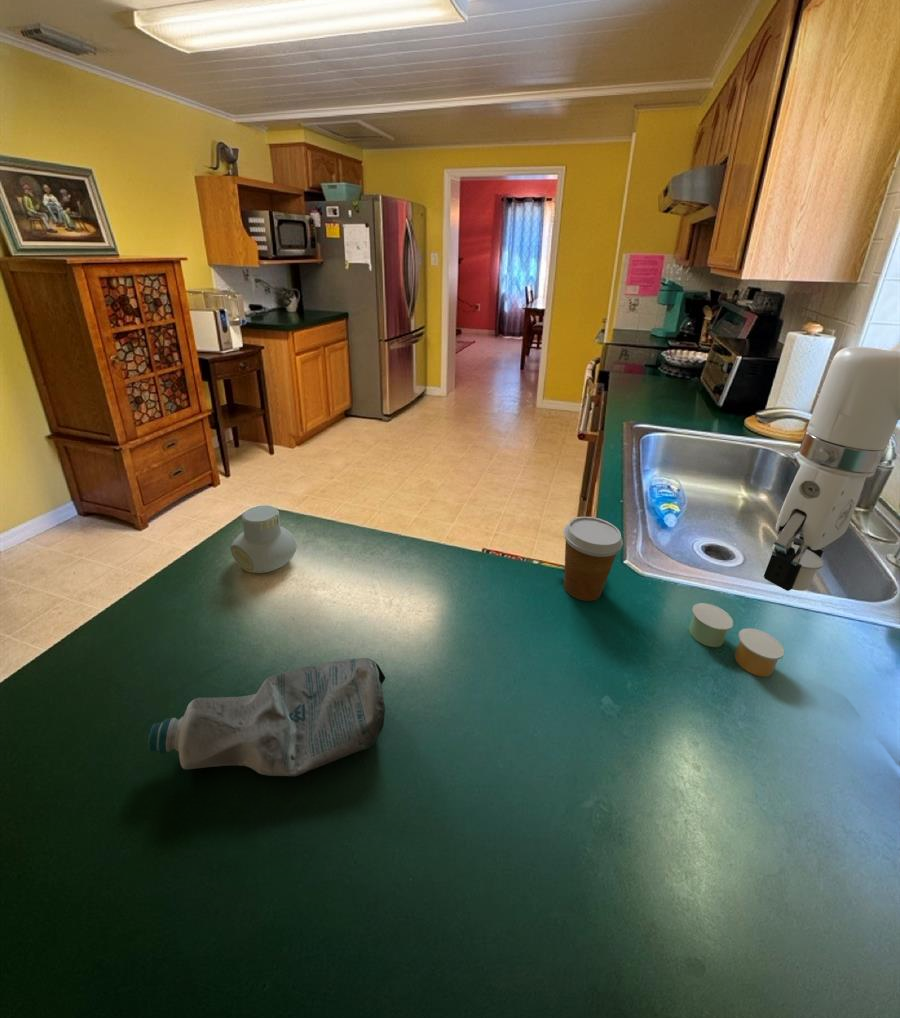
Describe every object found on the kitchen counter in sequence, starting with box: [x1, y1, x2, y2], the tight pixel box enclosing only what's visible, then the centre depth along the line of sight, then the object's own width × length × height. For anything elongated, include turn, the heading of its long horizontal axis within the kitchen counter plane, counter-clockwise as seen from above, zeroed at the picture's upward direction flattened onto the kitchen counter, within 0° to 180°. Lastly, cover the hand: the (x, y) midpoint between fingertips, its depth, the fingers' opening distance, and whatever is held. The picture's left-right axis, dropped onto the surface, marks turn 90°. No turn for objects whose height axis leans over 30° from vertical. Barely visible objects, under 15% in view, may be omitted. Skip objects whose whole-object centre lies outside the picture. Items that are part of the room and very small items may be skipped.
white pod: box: [771, 543, 824, 592], centre depth 62 cm, size 6×6×4 cm
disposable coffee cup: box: [563, 516, 624, 602], centre depth 80 cm, size 10×10×12 cm
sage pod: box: [688, 602, 734, 648], centre depth 73 cm, size 6×6×4 cm
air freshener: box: [230, 504, 298, 574], centre depth 82 cm, size 11×8×10 cm
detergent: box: [147, 657, 386, 777], centre depth 53 cm, size 13×7×25 cm
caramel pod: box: [734, 627, 785, 678], centre depth 68 cm, size 6×6×4 cm
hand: (788, 575), depth 63 cm, fingers closed on white pod, 5 cm apart
